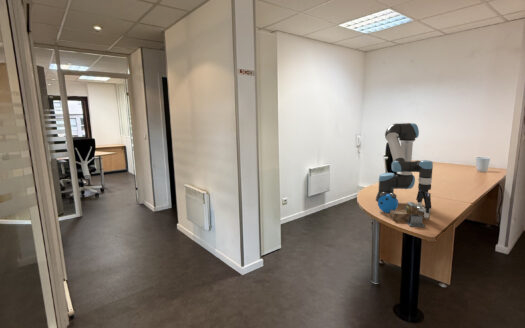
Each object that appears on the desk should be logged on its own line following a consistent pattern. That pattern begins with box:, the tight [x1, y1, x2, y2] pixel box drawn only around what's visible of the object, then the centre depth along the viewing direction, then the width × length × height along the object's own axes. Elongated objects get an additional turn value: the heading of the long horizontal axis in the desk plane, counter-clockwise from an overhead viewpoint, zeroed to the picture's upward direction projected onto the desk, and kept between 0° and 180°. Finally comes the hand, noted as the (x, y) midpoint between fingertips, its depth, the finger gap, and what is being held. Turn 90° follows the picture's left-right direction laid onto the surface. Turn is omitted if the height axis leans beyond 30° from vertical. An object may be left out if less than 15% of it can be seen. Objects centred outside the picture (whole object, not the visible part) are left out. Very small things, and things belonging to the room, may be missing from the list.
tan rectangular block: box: [404, 205, 410, 213], centre depth 192 cm, size 5×4×4 cm
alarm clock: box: [377, 192, 399, 214], centre depth 208 cm, size 13×6×15 cm, turn 49°
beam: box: [389, 201, 431, 222], centre depth 193 cm, size 24×8×11 cm, turn 81°
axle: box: [417, 206, 432, 214], centre depth 191 cm, size 10×4×4 cm, turn 81°
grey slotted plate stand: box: [405, 215, 426, 228], centre depth 183 cm, size 8×9×6 cm
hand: (422, 214), depth 192 cm, fingers open, 12 cm apart
